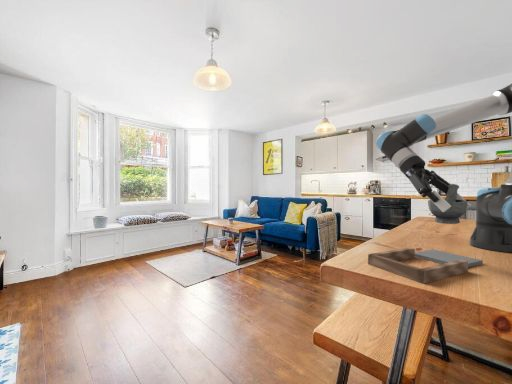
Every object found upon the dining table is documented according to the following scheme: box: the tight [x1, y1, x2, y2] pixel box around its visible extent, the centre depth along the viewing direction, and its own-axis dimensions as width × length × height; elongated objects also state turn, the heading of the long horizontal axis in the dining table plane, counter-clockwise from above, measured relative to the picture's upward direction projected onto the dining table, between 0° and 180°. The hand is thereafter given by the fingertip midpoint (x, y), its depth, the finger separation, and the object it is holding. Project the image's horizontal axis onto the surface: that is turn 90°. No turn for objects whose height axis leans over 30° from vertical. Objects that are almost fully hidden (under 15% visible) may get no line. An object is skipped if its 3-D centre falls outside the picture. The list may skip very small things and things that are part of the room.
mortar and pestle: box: [427, 183, 468, 225], centre depth 77 cm, size 11×9×12 cm
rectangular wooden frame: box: [367, 247, 469, 285], centre depth 70 cm, size 20×16×3 cm
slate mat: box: [415, 248, 483, 268], centre depth 78 cm, size 12×14×1 cm
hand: (457, 208), depth 75 cm, fingers closed on mortar and pestle, 10 cm apart
